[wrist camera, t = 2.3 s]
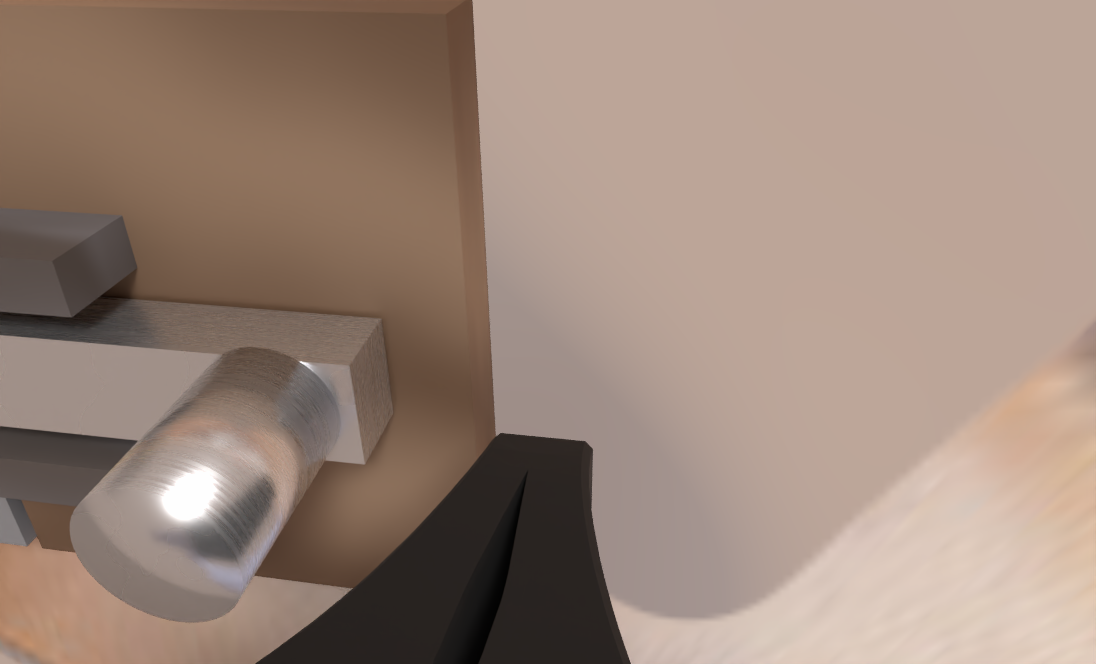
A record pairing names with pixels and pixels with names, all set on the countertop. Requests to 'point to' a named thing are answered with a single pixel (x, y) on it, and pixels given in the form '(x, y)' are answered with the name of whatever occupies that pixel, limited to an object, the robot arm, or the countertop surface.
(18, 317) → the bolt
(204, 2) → the door panel
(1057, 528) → the countertop surface
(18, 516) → the jamb keeper
